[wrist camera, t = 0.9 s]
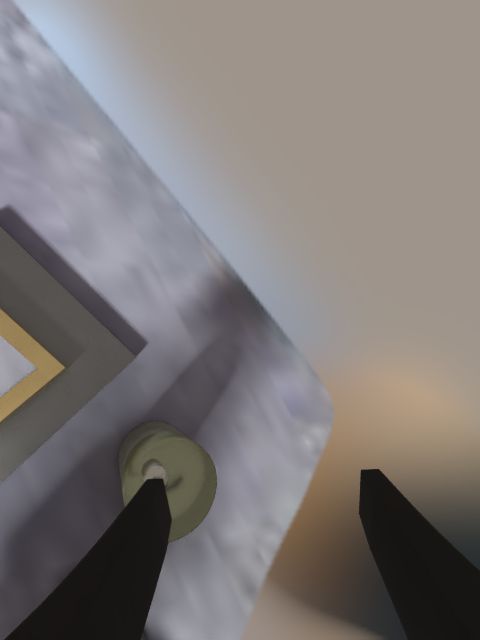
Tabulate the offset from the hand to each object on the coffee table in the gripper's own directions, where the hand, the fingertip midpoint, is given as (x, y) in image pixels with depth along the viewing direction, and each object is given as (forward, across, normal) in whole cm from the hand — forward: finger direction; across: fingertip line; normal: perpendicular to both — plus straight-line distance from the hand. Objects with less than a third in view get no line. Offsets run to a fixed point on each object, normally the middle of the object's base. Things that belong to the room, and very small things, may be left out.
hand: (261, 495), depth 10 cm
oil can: (+9, +8, +6) cm, 14 cm away
